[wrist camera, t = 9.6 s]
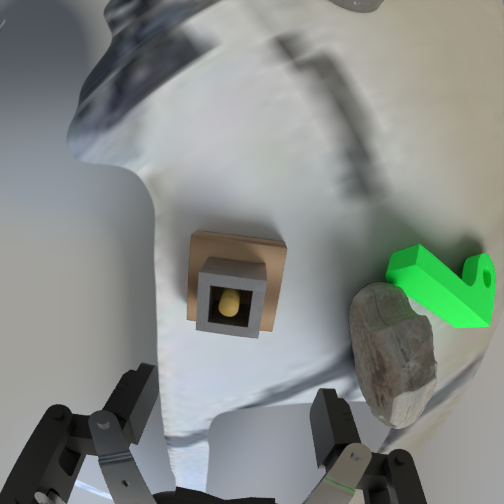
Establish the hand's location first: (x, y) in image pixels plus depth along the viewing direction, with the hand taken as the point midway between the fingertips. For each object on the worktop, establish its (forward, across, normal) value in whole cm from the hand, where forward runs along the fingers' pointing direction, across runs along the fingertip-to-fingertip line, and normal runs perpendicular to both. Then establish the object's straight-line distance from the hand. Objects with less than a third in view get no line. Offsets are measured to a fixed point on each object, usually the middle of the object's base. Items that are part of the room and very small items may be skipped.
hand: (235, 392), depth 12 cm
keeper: (+20, +1, +2) cm, 21 cm away
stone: (+21, -18, +8) cm, 29 cm away
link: (+18, +1, +2) cm, 18 cm away
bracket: (+21, -27, -3) cm, 34 cm away
